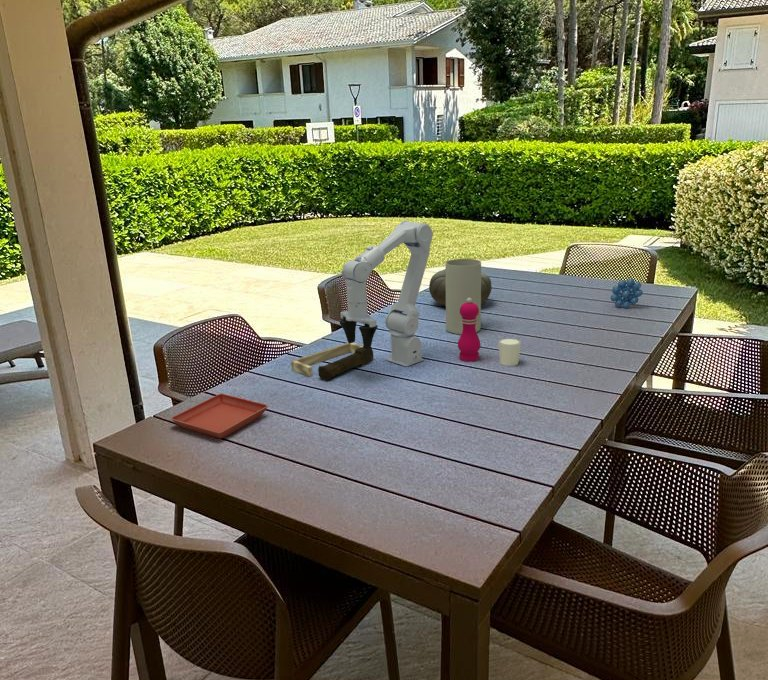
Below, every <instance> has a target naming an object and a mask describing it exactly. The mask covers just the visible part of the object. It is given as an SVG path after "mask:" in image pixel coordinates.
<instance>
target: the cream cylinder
mask: <svg viewBox="0 0 768 680" xmlns="http://www.w3.org/2000/svg"><path fill="white" fill-rule="evenodd" d="M521 343H522V342H521V340H520V339H516V338H503V339H499V340H498V353H499V354H498V355H499V364H501V365H503V366H506V367H514V366H518V364H519V361H520V360H519V359H520V352H521Z"/></svg>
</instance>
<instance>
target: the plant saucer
mask: <svg viewBox="0 0 768 680" xmlns="http://www.w3.org/2000/svg"><path fill="white" fill-rule="evenodd" d="M268 407H269V405H268V404H265V403H260V402H257V401H252V400H250V399H245V398H241V397H237V396H234V395H233V396H232V395H229V394H224V393H219V394H217V395H215V396H214V395H213V396H212V397H210V398H208V399H207V400H203V401H202V402H200V403H198V404H196V405H194V406H191V407H190V408H188V409H185V410H184V411H182V412H179V413H178V414H175V415H173V416H172V417H171V418H170V420H171V421H172V422H173V423H175V424H176V425H178V427H179V426H180V427H181V428H184V429H186V430H190V431H194V432H196V433H201V434H204V435H207V436H210V437H212V438H213V437H214V438H216V439H223V438H225V437H227V436H228V435H230V434H232V433H235V432H236V431H238V430H239V429H241V428H243V427H245V426H246V425H248V424H250V423H251V422H254V421H255V420H257V419H259V418H260V417H261V416H262V415H263V414H264V413H265V411H266V410H267V409H268Z"/></svg>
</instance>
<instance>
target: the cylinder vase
mask: <svg viewBox="0 0 768 680" xmlns="http://www.w3.org/2000/svg"><path fill="white" fill-rule="evenodd" d="M445 269H446V306H445V329H446V330H447V332H448V333H451V334H455V335H461V334H462V331H463V323H462V322H461V321H462V320H461V318H462V316H461V315H460V307H461V305H462V304H464V303H467V302H466V300H467V298H471V299H472V303H475V304H476V305H477V306H478V308H479V313H478V315H477V316H476V317H477V323H476V333H477V332H480V330H481V323H482V321H481V320H482V317H481V316H482V314H481V313H482V311H481V310H482V304H481V273H482V260H479V259H474V258H455V259H450V260H449V259H448V260H446V261H445Z"/></svg>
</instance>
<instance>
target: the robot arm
mask: <svg viewBox="0 0 768 680" xmlns="http://www.w3.org/2000/svg"><path fill="white" fill-rule="evenodd" d="M433 236H434V231H433V230H432V227H431V226H430V224H429V223H428V222H427V223H426V222H417V221H415V222H414V221H409V220H402V221H401V222H400V223H399V224H397V225H395V229H394V230H393V231H392V232H391V233H390V234H389V235H388V236H387V237H386V238H385V239H383V241H381V242H380V243H379V244H378V245H369V246H366V250H364V251H363V252H362V253H360V254H359V255H357V256H356V257H355V258H354V259H353V260H352V259H351V260H348V261H346V262H345V263H344V264H343V267H342V270H341V272H340V273H341V275H342V278H343V279H344V281H345V283H344V284H345V286H346V299H347V310H344V311H340V313H339V314H340V319H342V320H340V321H339V325H340V326H341V328H342V329H343V331H344V334H345V337H346V340H347V343H355V342H356V329H357V324H358V323H359V324H361V325H360V326H359V327H358V329H359V331H360V333H361V338H362V344H363V345H362V346H364V349H368V348H372V344H373V343H372V342H373V340H374V335H375V333H376V331H377V329H379V328H378V326H379V325H377V319H375V318H373V317H372V316H371V315H369V314H368V297H367V281H368V279H369V278H370V275H371V273H372V271H373V270H375V269H376V268H377V267H378V266H380V265H381V264H382V263H383V262H384V261H385V256H386V255H387V254H389V253H390V252H392V251H393V250H394V249H396V248H398V247H399V246H400V245H401V244H403V245H404V246H405V247H406V248H407V249H408V250H409V252H410V258H409V261H408V265H407V269H406V272H405V275H404V278H403V283H402V286H401V291H400V293H399V296H398V300H397V302H396V303H394V304H393V305H391V307H390V309H389V311H388V313H387V315H386V317H385V320H384V323H385V327H386V328H387V329H388V331H389V333H390V345H391V346H390V347H391V354H390V355H391V356H389V357H387V358H385V360H386V361H388V362H391V363H394V364H397V365H400V366H402V367H403V366H404V367H409V366H412V365H414V364H416V363H417V364H418V363H419V362H422V361H424V358H422V341H421V339H420V338H419V337H417V336H416V335H415V334H416V332H417V330H418V328H419V317H420V312H419V311H418V309H417V308H416V303H417V301H418V300H417V299H418V295H419V292H420V288H421V285H422V282H423V281H422V280H423V278H424V273H425V270H426V268H427V267H426V266H427V263H428V261H429V255H430V252H431V244H432V241H433Z"/></svg>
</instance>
